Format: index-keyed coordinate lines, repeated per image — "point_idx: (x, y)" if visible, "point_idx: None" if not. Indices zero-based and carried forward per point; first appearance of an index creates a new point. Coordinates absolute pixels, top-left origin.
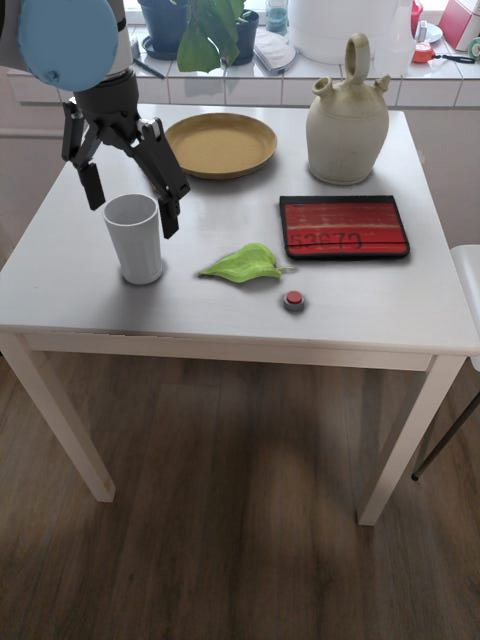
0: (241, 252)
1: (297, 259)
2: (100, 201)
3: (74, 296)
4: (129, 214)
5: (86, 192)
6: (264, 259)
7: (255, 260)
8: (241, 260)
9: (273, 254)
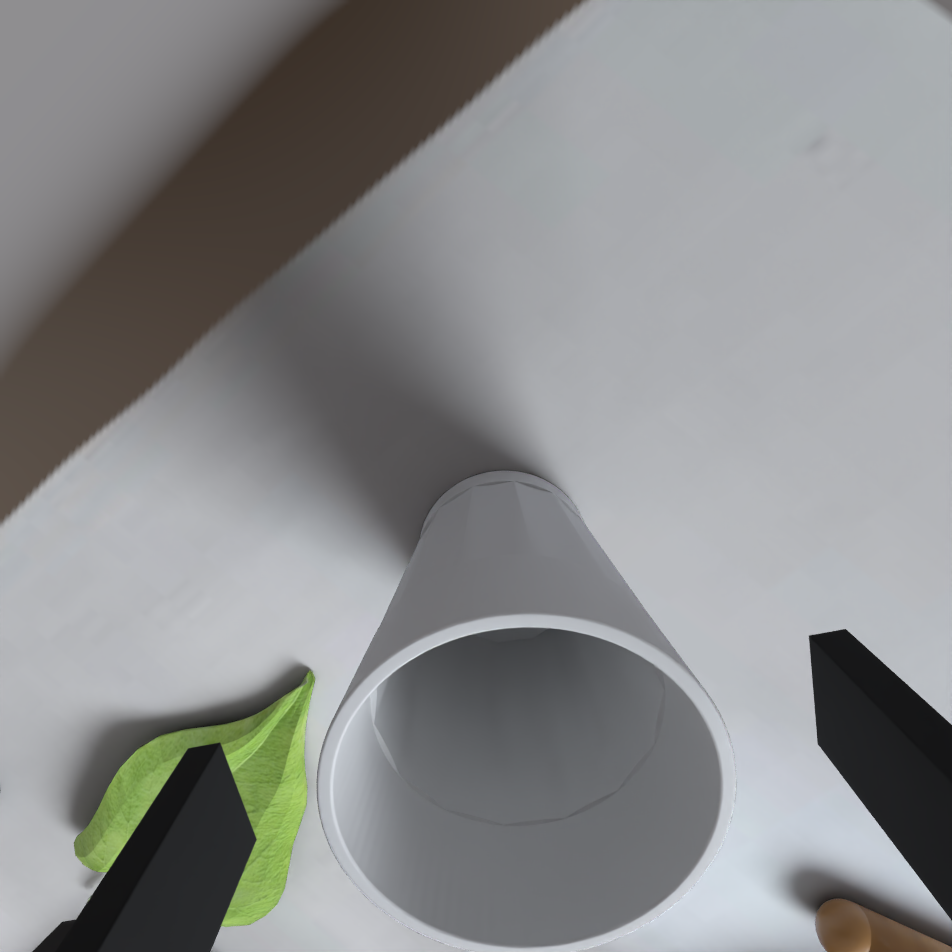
0: (257, 855)
1: None
2: (831, 724)
3: (613, 241)
4: (633, 752)
5: (936, 728)
6: None
7: None
8: None
9: None
